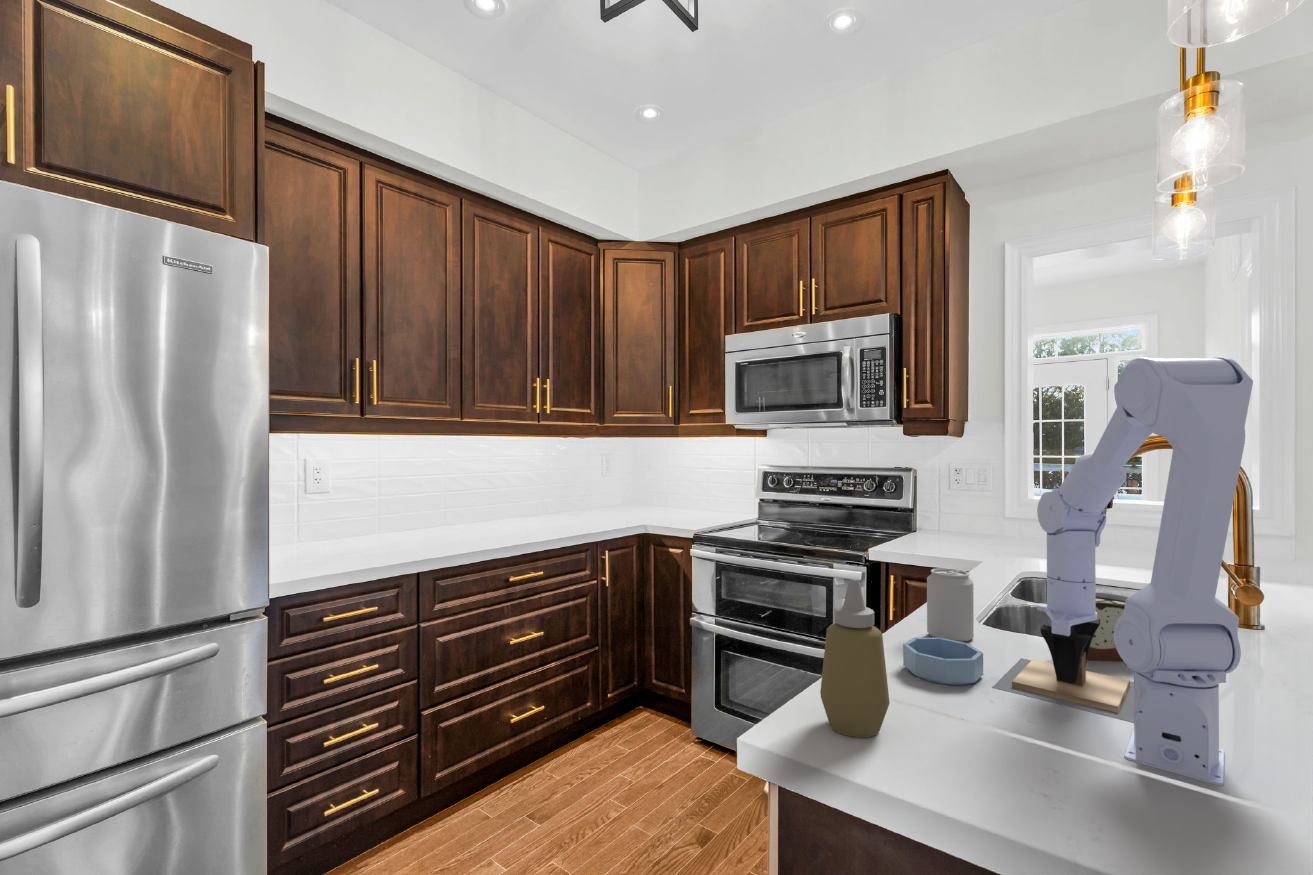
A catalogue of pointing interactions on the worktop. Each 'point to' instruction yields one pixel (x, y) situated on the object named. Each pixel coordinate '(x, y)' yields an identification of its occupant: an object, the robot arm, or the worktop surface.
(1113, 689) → the lid
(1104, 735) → the worktop surface
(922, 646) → the bowl
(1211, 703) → the robot arm
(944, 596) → the can
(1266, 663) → the worktop surface
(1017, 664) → the mat
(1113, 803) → the worktop surface
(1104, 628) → the food container
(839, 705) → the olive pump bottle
